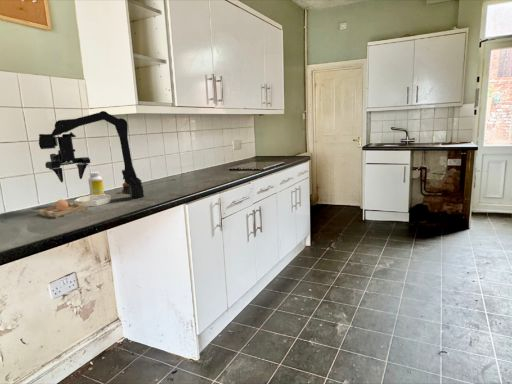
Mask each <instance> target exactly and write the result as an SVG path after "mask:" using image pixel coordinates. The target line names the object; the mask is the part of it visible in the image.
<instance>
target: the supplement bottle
mask: <svg viewBox="0 0 512 384" xmlns="http://www.w3.org/2000/svg"><path fill="white" fill-rule="evenodd" d="M89 176H90V177H89V178H88V185H89V193H90V194H89V195H99V194H105V190H104V182H103V177H102V176H100V172H99V171H94V172H93V171H92V172H89Z"/></svg>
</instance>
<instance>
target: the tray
mask: <svg viewBox="0 0 512 384" xmlns="http://www.w3.org/2000/svg"><path fill="white" fill-rule="evenodd" d="M85 210H88V207H87V206H86V205H80V204H75V203H74V202H68V208H67V209H66V210H64V211H60V210H58V209H57V208H56V205H54V206H48V207H45V208H39V209H37V212H38V213H37V214H38V215H39V216H42V217H47V218H52V219H58V218H62V217H65V216H66V215H69V214H72V213H77V212H81V211H85Z"/></svg>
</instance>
